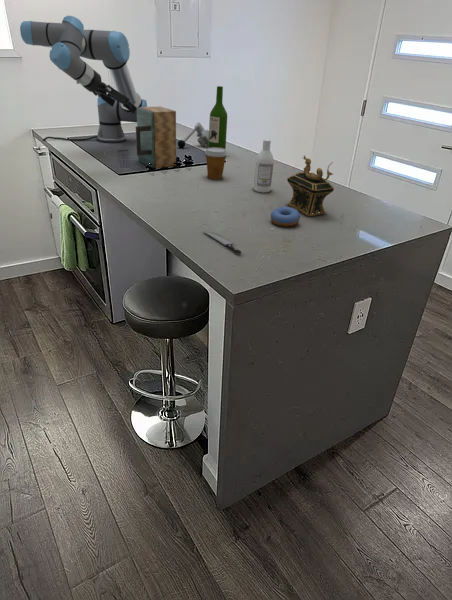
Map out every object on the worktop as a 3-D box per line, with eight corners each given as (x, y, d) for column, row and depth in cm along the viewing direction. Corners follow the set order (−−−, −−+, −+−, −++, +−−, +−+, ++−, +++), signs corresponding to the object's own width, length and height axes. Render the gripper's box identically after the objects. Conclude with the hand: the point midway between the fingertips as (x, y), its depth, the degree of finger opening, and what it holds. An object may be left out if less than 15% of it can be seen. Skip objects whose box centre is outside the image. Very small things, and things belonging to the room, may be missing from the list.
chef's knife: (211, 231, 138) (203, 232, 137) (211, 228, 138) (203, 229, 136) (247, 253, 125) (238, 255, 124) (247, 250, 125) (239, 251, 123)
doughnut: (279, 229, 143) (280, 216, 140) (264, 219, 150) (266, 206, 148) (304, 226, 146) (306, 213, 144) (289, 216, 154) (291, 204, 152)
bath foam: (273, 192, 177) (279, 141, 167) (258, 193, 175) (263, 142, 164) (265, 187, 183) (270, 137, 172) (250, 188, 180) (255, 138, 169)
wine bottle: (205, 155, 224) (207, 86, 207) (212, 152, 232) (215, 85, 215) (221, 158, 222) (224, 88, 205) (227, 154, 229) (231, 86, 212)
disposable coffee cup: (229, 176, 193) (230, 149, 186) (219, 182, 185) (221, 153, 179) (210, 173, 196) (211, 146, 190) (200, 178, 188) (201, 149, 182)
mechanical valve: (218, 142, 240) (202, 120, 230) (197, 165, 239) (180, 145, 229) (209, 140, 248) (194, 119, 238) (189, 162, 247) (172, 142, 237)
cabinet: (155, 168, 198) (153, 112, 185) (141, 161, 207) (138, 107, 195) (176, 165, 204) (175, 111, 191) (161, 159, 213) (160, 106, 201)
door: (140, 169, 194) (137, 113, 181) (126, 162, 203) (123, 108, 191) (155, 168, 198) (153, 112, 185) (140, 161, 207) (138, 107, 195)
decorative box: (282, 203, 165) (289, 150, 155) (302, 201, 169) (310, 149, 159) (314, 222, 151) (324, 164, 140) (336, 218, 155) (347, 162, 144)
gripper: (63, 80, 171) (101, 108, 190) (104, 93, 159) (140, 121, 178) (71, 62, 170) (108, 92, 189) (112, 73, 159) (148, 104, 177)
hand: (124, 107), depth 184 cm, fingers open, 13 cm apart
